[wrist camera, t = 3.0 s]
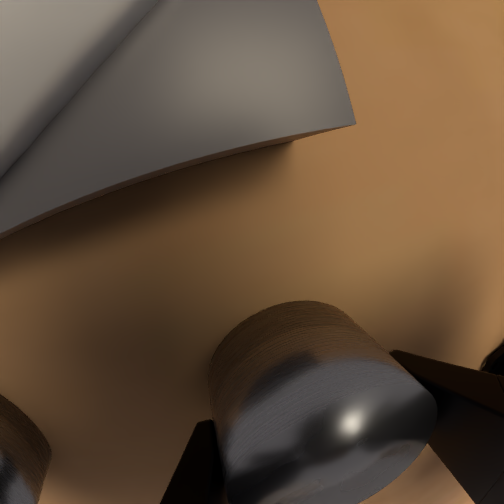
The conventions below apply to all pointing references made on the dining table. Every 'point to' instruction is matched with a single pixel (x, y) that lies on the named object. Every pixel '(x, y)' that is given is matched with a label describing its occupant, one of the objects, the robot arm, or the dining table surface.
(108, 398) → the dining table surface
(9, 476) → the cylinder
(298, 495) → the cylinder
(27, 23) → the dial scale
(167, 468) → the dining table surface
